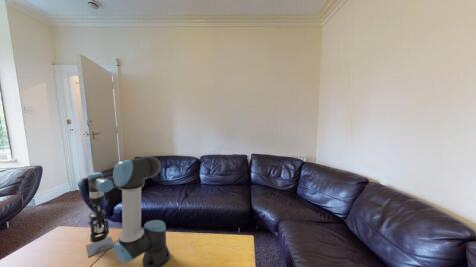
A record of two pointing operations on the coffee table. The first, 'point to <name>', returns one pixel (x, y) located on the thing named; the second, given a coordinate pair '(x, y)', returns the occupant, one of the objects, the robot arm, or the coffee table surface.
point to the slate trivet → (99, 246)
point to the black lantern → (94, 229)
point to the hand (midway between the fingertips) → (99, 229)
